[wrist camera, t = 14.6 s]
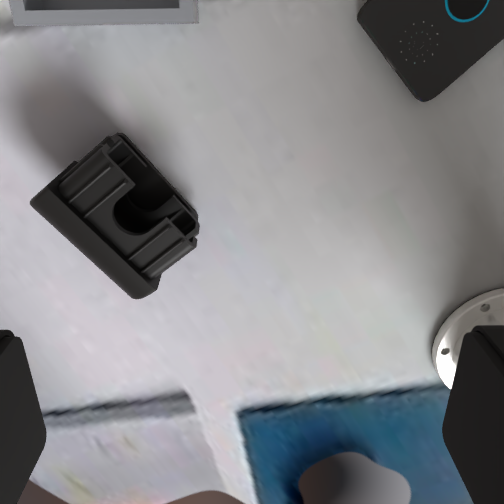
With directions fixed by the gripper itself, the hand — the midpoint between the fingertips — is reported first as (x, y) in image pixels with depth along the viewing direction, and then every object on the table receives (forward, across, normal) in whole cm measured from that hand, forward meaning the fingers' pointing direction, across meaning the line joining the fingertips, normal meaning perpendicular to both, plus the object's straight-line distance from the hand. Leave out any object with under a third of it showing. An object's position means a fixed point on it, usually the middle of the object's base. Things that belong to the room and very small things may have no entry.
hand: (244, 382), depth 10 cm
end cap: (+27, +9, +5) cm, 29 cm away
